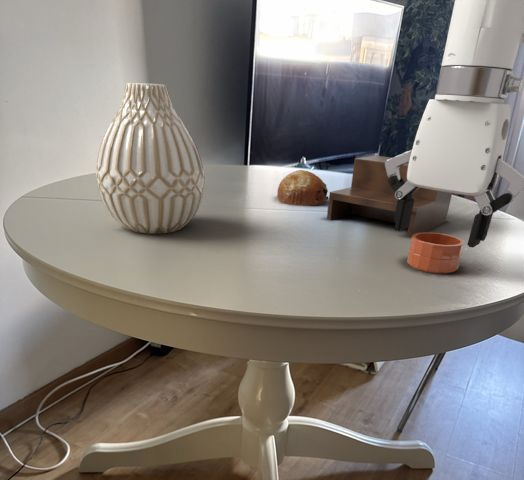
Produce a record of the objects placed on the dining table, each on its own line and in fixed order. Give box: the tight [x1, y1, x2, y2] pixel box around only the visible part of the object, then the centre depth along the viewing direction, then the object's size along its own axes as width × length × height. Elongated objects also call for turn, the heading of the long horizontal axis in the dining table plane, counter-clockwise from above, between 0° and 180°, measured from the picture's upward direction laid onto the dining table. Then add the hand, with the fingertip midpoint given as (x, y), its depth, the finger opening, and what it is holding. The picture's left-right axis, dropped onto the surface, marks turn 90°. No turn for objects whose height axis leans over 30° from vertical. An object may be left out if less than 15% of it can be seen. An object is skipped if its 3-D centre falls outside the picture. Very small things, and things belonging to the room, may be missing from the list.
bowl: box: [406, 231, 466, 275], centre depth 64 cm, size 7×7×4 cm
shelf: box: [326, 155, 453, 239], centre depth 85 cm, size 16×16×10 cm
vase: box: [95, 82, 205, 235], centre depth 71 cm, size 16×16×20 cm
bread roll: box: [276, 169, 329, 207], centre depth 98 cm, size 10×10×8 cm
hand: (436, 236), depth 62 cm, fingers open, 9 cm apart
